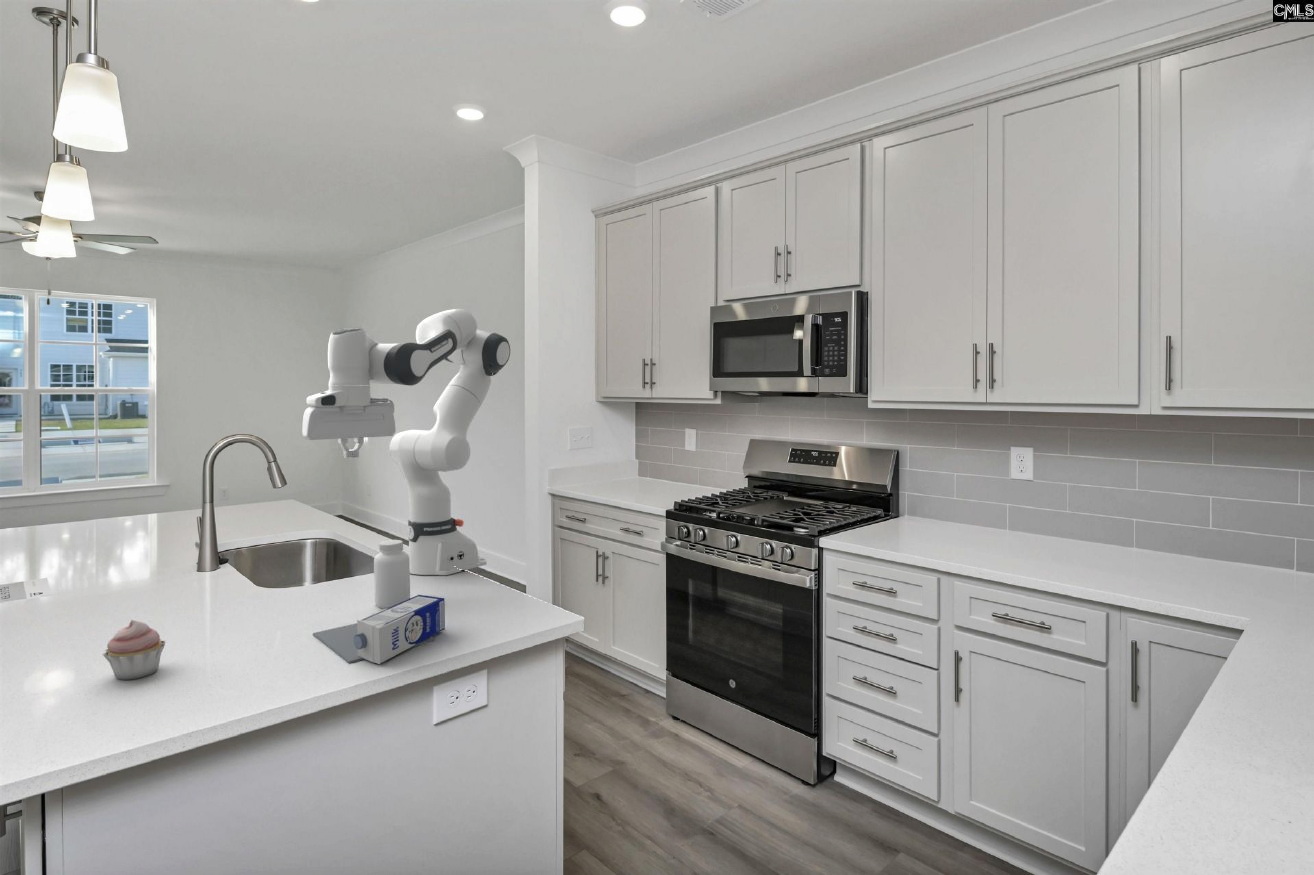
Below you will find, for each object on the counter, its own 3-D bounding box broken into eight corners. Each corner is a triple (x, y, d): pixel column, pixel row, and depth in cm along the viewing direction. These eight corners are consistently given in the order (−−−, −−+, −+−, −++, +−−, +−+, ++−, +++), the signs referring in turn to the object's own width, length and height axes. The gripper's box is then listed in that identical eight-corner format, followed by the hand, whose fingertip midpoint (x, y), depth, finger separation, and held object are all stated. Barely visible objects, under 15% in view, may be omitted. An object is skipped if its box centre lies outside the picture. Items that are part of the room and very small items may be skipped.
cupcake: (100, 672, 130) (97, 619, 129) (161, 659, 136) (159, 607, 135) (107, 689, 123) (104, 632, 122) (172, 674, 129) (169, 620, 129)
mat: (392, 616, 161) (392, 615, 161) (433, 641, 147) (433, 639, 147) (312, 635, 149) (312, 633, 149) (348, 663, 135) (348, 661, 135)
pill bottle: (367, 607, 167) (366, 544, 166) (388, 597, 175) (386, 537, 174) (397, 610, 166) (396, 547, 164) (417, 600, 173) (416, 539, 172)
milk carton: (445, 630, 152) (379, 665, 133) (418, 625, 154) (350, 659, 136) (444, 597, 152) (378, 628, 133) (418, 593, 154) (349, 623, 135)
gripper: (388, 397, 174) (389, 453, 176) (298, 398, 160) (300, 459, 161) (399, 397, 170) (400, 455, 171) (308, 398, 156) (310, 461, 157)
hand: (351, 457), depth 166 cm, fingers closed
